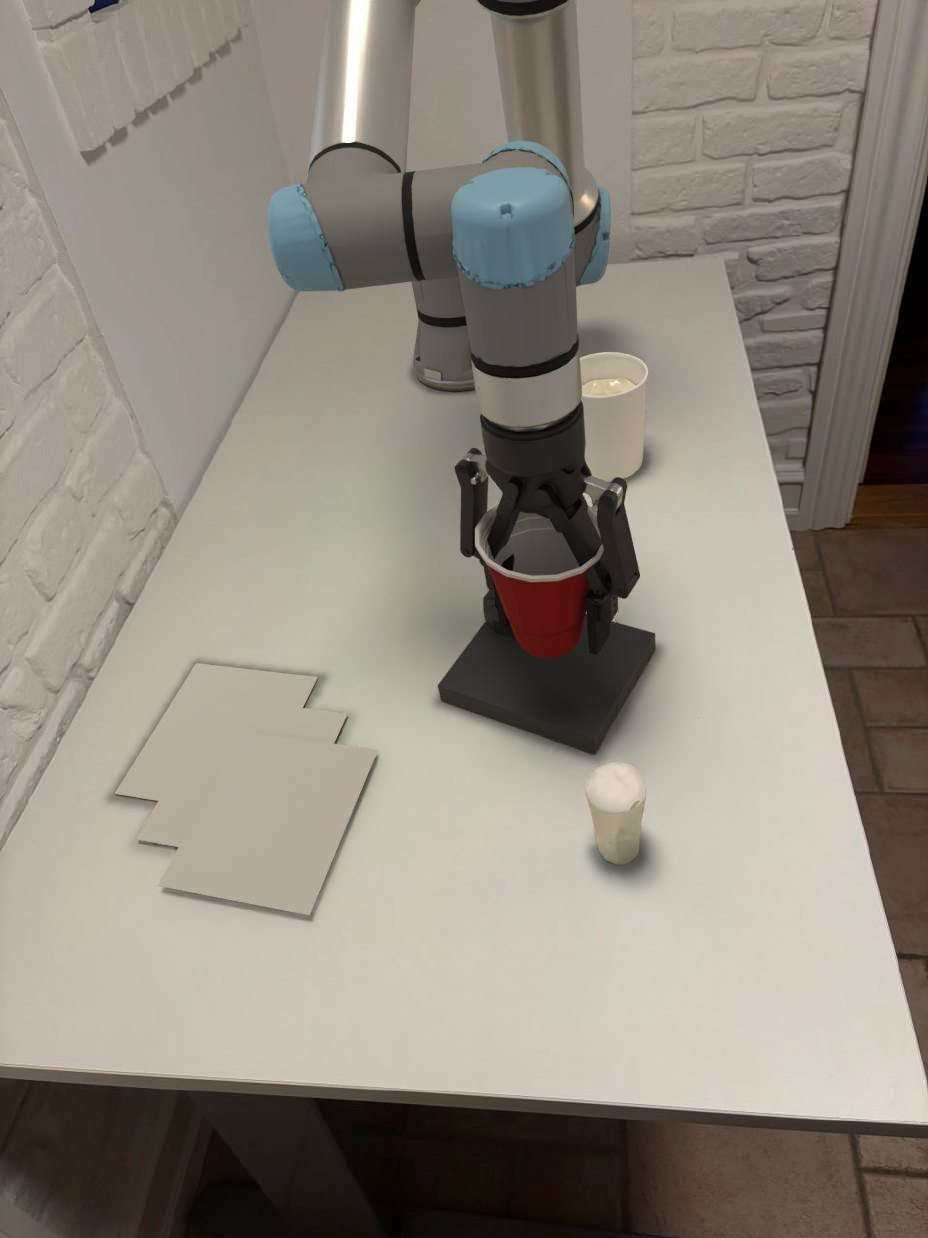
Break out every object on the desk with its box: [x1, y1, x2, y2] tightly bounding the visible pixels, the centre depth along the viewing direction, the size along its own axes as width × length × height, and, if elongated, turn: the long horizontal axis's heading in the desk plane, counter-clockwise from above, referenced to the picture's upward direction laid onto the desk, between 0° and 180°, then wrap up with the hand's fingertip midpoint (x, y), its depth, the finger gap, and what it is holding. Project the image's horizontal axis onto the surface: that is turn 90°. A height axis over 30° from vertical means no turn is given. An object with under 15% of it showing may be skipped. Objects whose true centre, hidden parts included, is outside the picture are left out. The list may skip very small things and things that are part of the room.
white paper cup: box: [580, 351, 649, 483], centre depth 111 cm, size 10×10×12 cm
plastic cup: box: [475, 503, 604, 658], centre depth 81 cm, size 11×11×12 cm
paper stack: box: [114, 662, 379, 916], centre depth 87 cm, size 23×25×1 cm
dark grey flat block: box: [437, 590, 656, 755], centre depth 91 cm, size 15×17×4 cm
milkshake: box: [584, 761, 648, 866], centre depth 73 cm, size 4×5×10 cm
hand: (554, 630), depth 84 cm, fingers closed on plastic cup, 8 cm apart
